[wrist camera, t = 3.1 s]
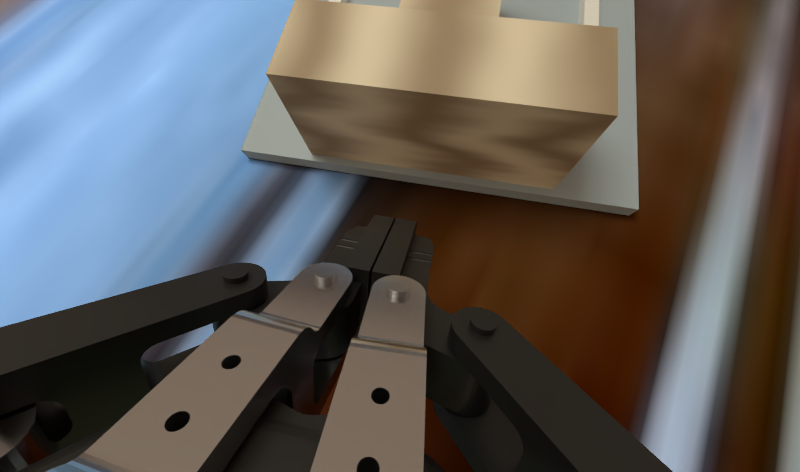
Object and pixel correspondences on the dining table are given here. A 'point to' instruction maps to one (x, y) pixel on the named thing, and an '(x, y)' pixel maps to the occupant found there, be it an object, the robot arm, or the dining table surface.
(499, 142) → the t block
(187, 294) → the robot arm
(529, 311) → the dining table surface
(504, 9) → the board
